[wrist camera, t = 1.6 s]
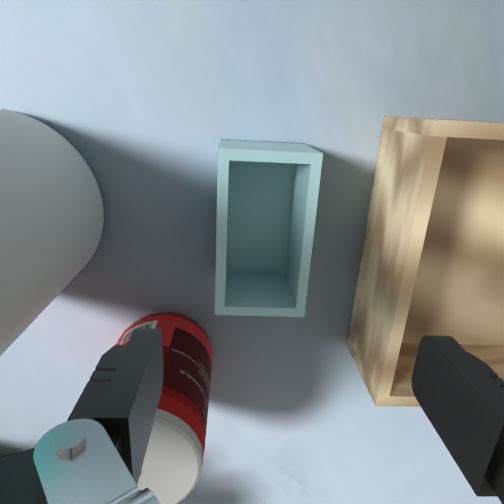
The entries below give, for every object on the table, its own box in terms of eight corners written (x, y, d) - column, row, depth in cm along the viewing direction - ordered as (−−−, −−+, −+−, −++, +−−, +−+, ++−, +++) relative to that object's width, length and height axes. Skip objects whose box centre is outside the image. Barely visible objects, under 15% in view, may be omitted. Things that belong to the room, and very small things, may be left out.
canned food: (104, 371, 32) (42, 496, 22) (138, 293, 29) (86, 393, 19) (189, 401, 33) (169, 532, 23) (228, 330, 31) (225, 440, 21)
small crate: (221, 139, 26) (217, 148, 20) (304, 143, 26) (323, 153, 20) (218, 275, 29) (214, 314, 24) (291, 277, 29) (304, 317, 24)
